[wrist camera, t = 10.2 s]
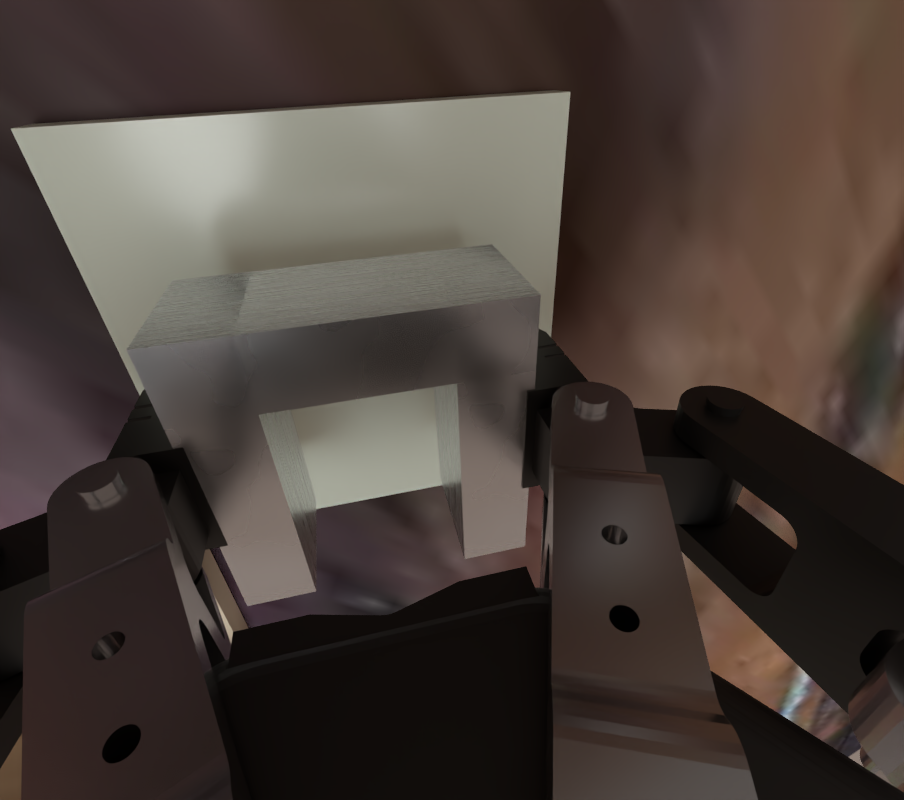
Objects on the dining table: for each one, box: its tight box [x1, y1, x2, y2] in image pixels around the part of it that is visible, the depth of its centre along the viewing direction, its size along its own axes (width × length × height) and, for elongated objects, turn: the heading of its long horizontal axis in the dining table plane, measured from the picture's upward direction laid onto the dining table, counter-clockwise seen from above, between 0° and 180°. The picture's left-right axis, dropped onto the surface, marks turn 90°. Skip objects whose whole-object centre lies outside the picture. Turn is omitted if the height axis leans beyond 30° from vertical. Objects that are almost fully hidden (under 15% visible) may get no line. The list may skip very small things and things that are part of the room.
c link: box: [127, 244, 541, 606], centre depth 9 cm, size 6×6×2 cm
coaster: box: [11, 90, 570, 509], centre depth 12 cm, size 10×10×1 cm
